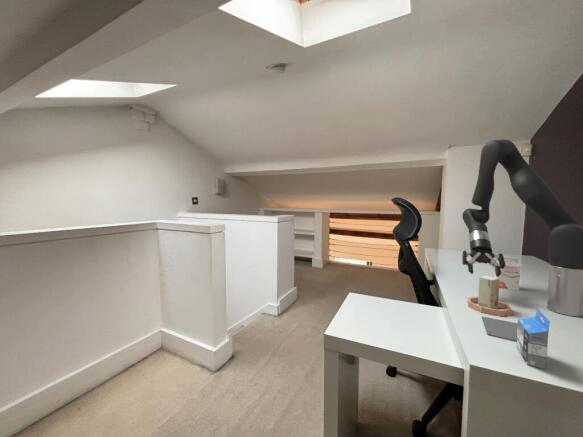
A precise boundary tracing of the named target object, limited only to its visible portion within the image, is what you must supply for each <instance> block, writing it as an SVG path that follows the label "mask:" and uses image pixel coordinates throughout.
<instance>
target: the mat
mask: <svg viewBox="0 0 583 437" xmlns="http://www.w3.org/2000/svg"><path fill="white" fill-rule="evenodd" d="M481 318H482V320H481V321H482V323H483V326H484V329H485V332H486V335H487V336H489V337H494V338H499V339H502V340H508V341H511V342H516V343H517V330H518V322H513V321H508V320H503V319H498V318H492V317H487V316H482V315H481Z"/></svg>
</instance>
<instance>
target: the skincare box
mask: <svg viewBox="0 0 583 437" xmlns="http://www.w3.org/2000/svg"><path fill="white" fill-rule="evenodd" d="M478 279H479V280H478V281H479V282H478V296H477V297H478V302H477V305H479V306H482V307H486V308H492V309H497V310H499V307H498V301H499V296H500V295H499V294H500V288H499V279H500V278H496V277H495V276H491V275H484V276H479V278H478Z"/></svg>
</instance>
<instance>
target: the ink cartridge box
mask: <svg viewBox="0 0 583 437" xmlns="http://www.w3.org/2000/svg"><path fill="white" fill-rule="evenodd" d="M503 257H504V261H505V264H506V265H505V267H504V269H502V268H500V269H501V275H500V276H499V277H496V273H495V272H494V277H496V278H500V279H499V289H500V288H501V289H507V290H513V291H519V290H520V281H521V280H520V278H521V265H519V263H518V262H519V261H518V260H519V259H518V258H517V257H509V256H503ZM495 260H496V262H497V263H499V261H498V260H497V259H496V258H495Z"/></svg>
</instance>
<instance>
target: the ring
mask: <svg viewBox="0 0 583 437" xmlns="http://www.w3.org/2000/svg"><path fill="white" fill-rule="evenodd" d="M466 303H467V307H468V308H470V309H472V310H474V311H476V312H479V313H482V314H487V315H490V316H491V315H492V316H496V317H504V316H511V315H512V310H513V309H512V308H511V306H510V305H509V304H508V303H506V302H502V301H500V300H498V308H501V309H492V308H486V307H482V306H479V305H478V296H472V297H471V296H470V297H467V302H466ZM476 303H477V304H476Z"/></svg>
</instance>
